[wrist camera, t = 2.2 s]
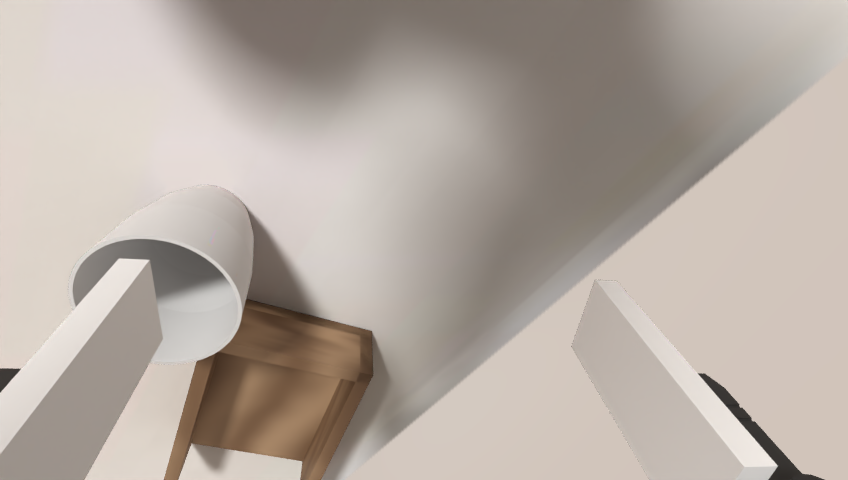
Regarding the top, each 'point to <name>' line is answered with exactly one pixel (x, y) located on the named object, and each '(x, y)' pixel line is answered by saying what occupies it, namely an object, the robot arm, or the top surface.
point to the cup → (183, 267)
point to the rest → (277, 389)
